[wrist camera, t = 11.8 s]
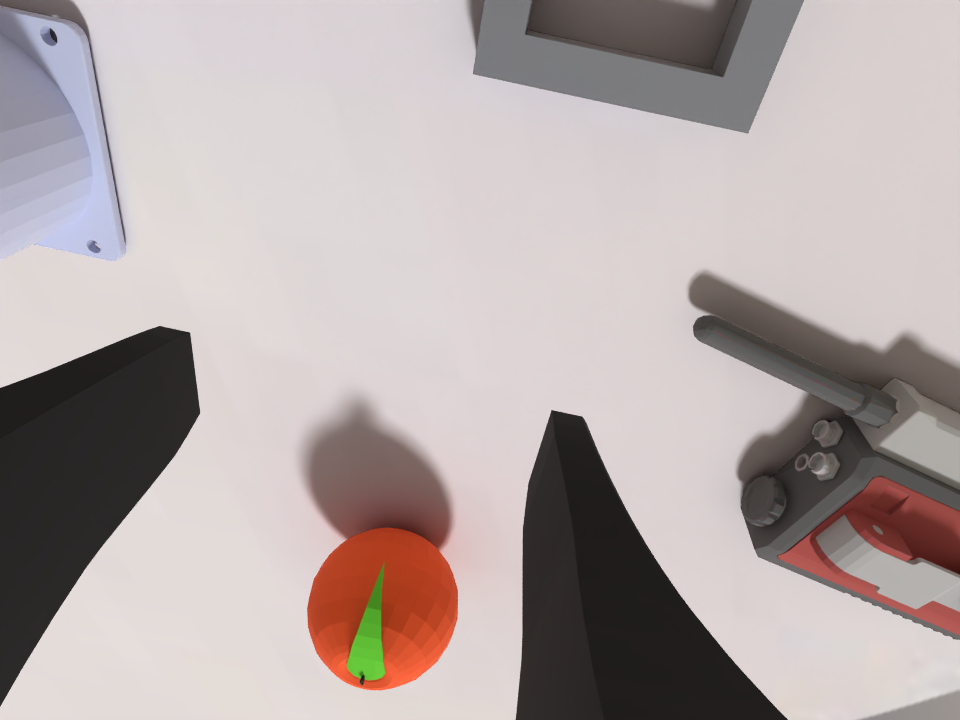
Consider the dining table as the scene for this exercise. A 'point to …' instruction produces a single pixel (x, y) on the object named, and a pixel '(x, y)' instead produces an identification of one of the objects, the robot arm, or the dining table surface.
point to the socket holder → (643, 64)
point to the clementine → (382, 608)
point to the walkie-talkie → (860, 489)
